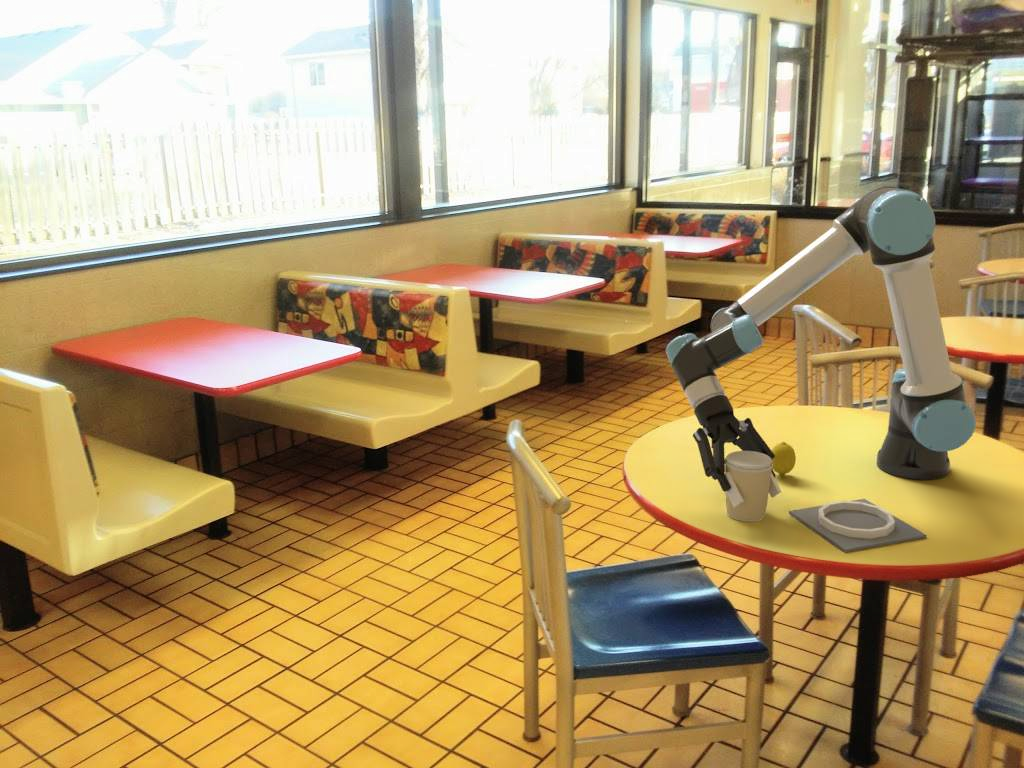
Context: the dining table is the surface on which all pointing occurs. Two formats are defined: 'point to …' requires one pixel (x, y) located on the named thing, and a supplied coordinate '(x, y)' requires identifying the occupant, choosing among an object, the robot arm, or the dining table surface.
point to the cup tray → (856, 525)
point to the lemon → (783, 458)
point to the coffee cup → (749, 484)
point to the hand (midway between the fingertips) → (757, 499)
